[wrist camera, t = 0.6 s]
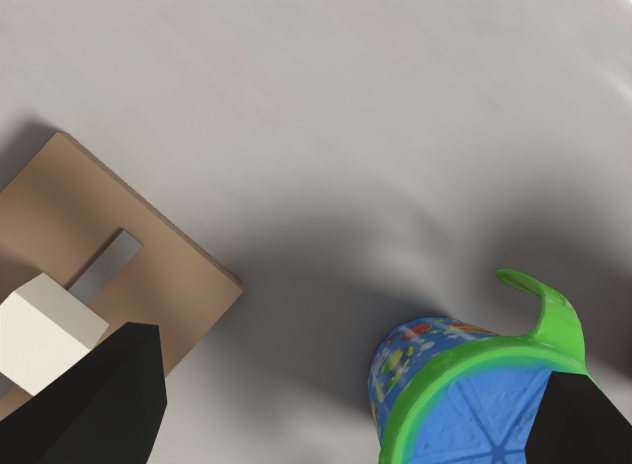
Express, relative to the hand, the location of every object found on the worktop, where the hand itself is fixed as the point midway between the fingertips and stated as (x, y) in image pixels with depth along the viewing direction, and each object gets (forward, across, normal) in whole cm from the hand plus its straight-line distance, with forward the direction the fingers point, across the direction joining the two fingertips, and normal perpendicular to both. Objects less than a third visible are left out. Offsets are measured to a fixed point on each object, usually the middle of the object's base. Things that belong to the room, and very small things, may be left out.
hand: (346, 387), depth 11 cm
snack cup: (+18, -5, +16) cm, 25 cm away
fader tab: (+12, +14, +11) cm, 22 cm away
